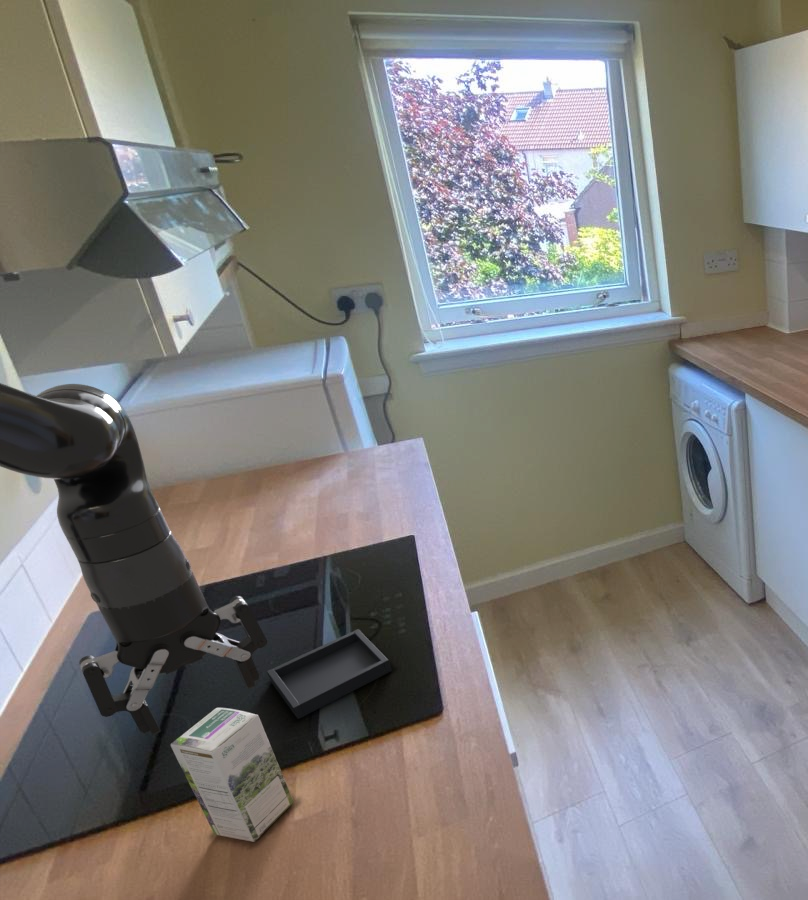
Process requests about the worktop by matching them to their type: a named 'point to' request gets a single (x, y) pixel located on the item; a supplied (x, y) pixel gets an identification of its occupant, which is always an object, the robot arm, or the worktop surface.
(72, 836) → the worktop surface
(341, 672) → the tray
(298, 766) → the worktop surface
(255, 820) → the syrup box
